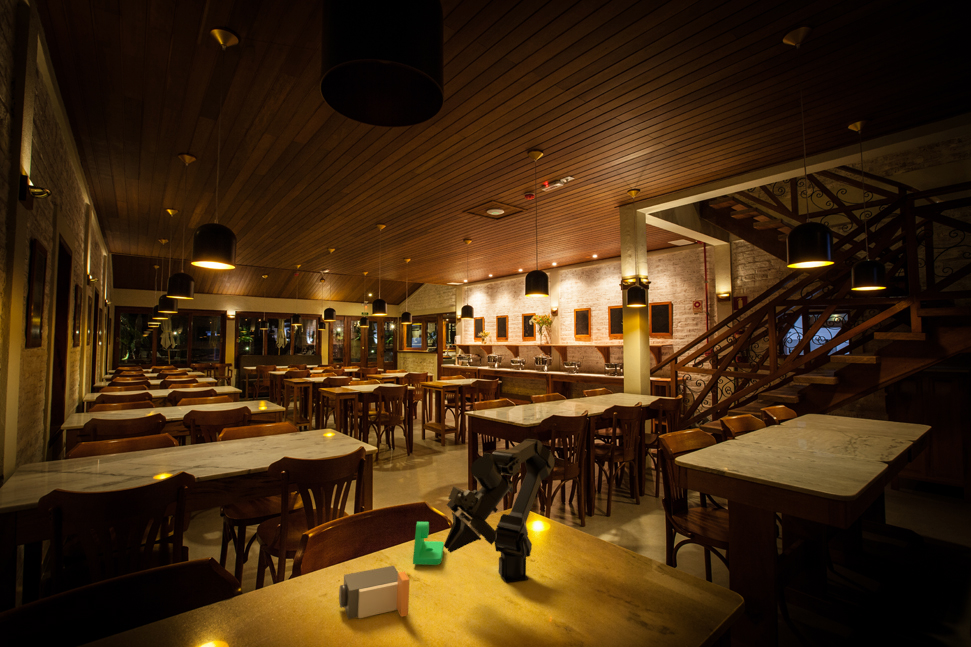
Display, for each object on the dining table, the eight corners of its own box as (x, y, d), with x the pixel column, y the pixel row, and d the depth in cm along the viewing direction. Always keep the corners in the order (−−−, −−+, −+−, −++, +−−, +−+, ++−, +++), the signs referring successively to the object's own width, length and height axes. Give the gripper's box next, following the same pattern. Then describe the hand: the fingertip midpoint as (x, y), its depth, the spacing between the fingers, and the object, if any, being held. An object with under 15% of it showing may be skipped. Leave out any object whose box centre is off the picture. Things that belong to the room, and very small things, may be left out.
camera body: (392, 590, 107) (393, 565, 108) (401, 607, 100) (402, 580, 101) (337, 602, 102) (338, 575, 102) (342, 621, 94) (343, 592, 95)
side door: (401, 605, 100) (403, 569, 101) (408, 617, 95) (409, 579, 96) (357, 615, 96) (359, 577, 96) (361, 628, 91) (363, 588, 92)
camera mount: (440, 568, 120) (441, 530, 121) (412, 568, 120) (414, 529, 121) (443, 550, 132) (444, 515, 133) (418, 550, 132) (419, 515, 133)
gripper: (454, 466, 115) (413, 515, 109) (485, 484, 98) (438, 542, 92) (480, 494, 118) (441, 542, 112) (515, 515, 101) (471, 574, 95)
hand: (446, 549), depth 103 cm, fingers closed
